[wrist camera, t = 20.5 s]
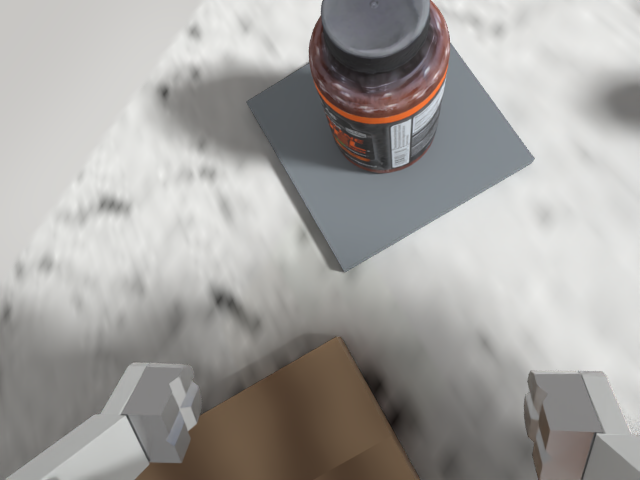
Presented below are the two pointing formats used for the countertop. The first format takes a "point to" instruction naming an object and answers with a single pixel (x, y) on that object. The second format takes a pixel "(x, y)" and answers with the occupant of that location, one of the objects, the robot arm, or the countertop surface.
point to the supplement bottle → (381, 78)
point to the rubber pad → (396, 187)
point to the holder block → (295, 429)
